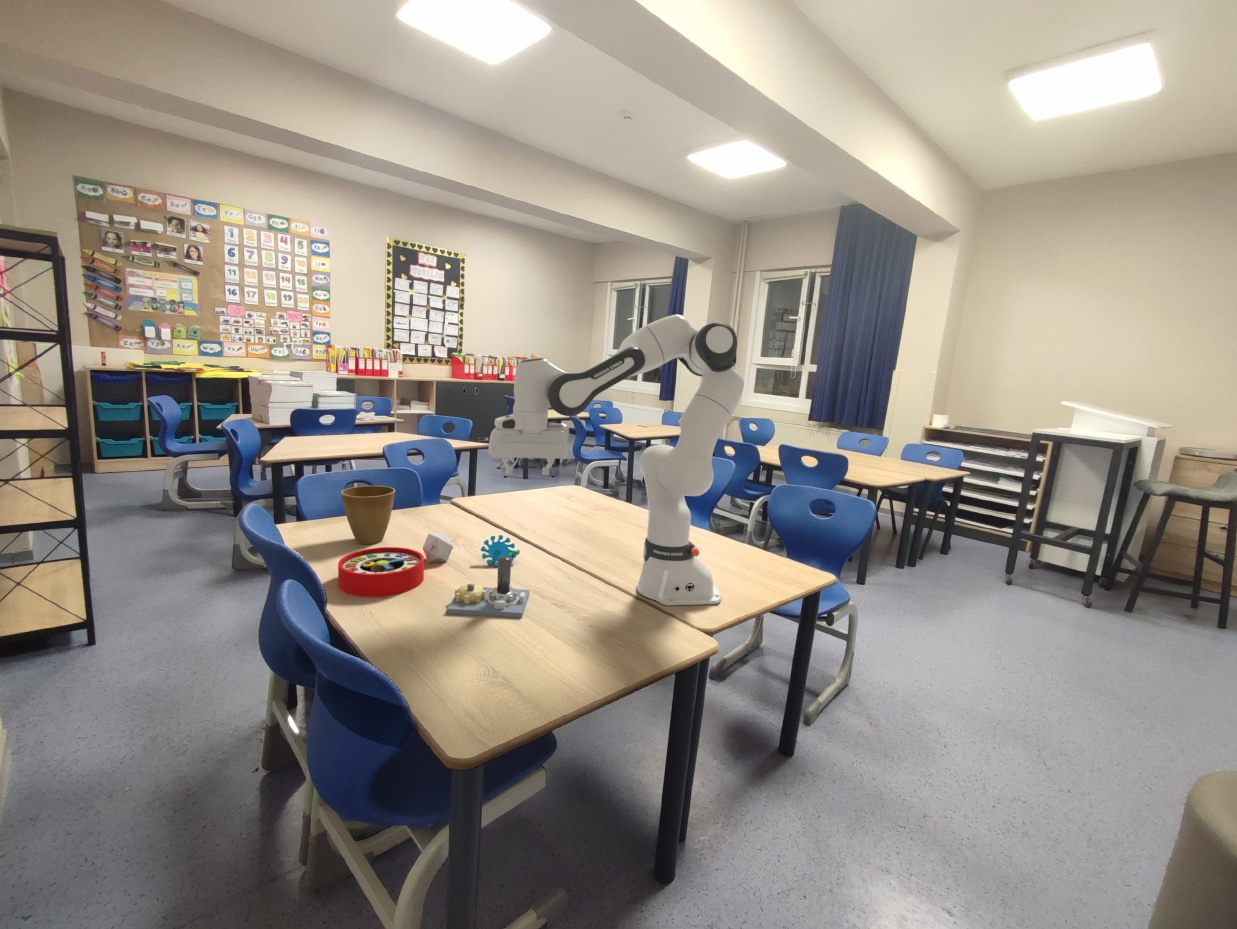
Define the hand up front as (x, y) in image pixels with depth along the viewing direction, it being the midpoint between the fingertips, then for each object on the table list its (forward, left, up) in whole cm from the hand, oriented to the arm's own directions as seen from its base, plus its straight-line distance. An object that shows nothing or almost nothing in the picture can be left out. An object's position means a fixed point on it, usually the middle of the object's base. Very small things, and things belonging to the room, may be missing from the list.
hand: (527, 474), depth 138 cm
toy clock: (+35, +6, -30) cm, 46 cm away
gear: (+3, +15, -28) cm, 32 cm away
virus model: (+8, -12, -29) cm, 33 cm away
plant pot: (+51, -24, -29) cm, 64 cm away
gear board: (+6, +16, -29) cm, 33 cm away
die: (+26, -11, -29) cm, 41 cm away
